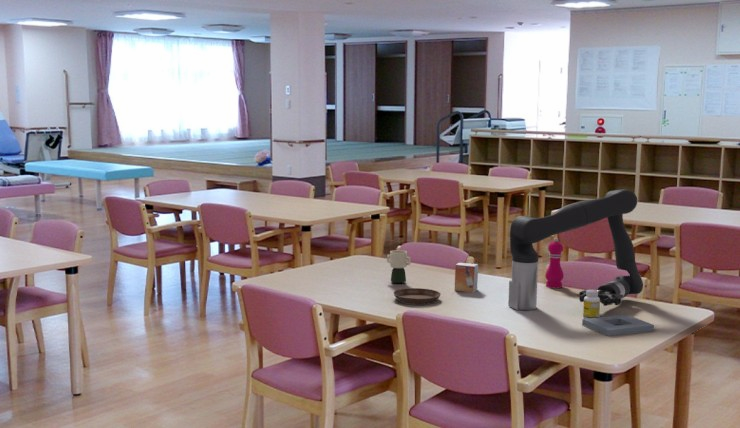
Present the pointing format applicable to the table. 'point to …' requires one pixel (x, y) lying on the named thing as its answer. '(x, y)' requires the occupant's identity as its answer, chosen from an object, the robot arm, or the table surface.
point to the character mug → (398, 265)
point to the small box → (466, 277)
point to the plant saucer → (417, 296)
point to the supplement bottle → (591, 304)
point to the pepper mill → (554, 265)
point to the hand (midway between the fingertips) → (592, 300)
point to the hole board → (626, 325)
